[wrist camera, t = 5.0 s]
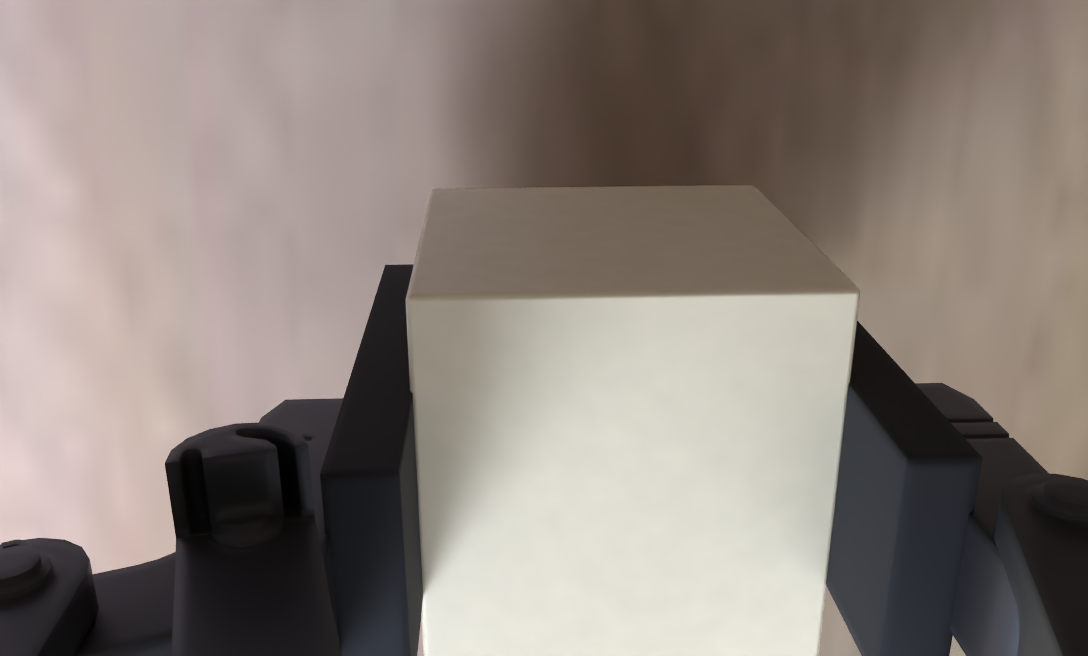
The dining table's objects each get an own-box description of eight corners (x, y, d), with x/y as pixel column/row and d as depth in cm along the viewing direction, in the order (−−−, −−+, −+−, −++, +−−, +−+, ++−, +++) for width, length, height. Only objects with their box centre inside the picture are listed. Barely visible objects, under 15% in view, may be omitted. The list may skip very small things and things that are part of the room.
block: (442, 477, 18) (424, 674, 13) (430, 187, 16) (404, 296, 11) (734, 470, 18) (820, 661, 13) (755, 184, 16) (863, 288, 11)
